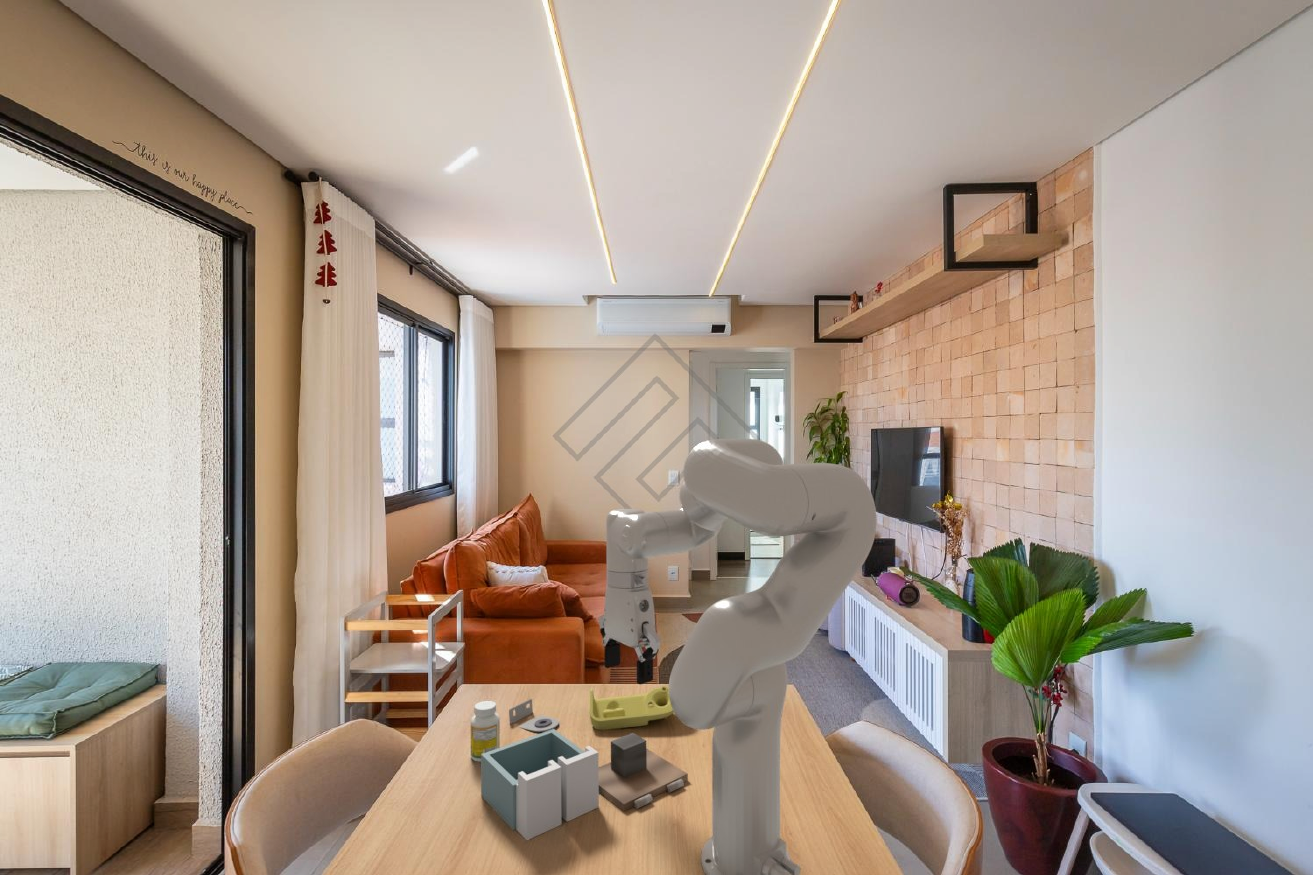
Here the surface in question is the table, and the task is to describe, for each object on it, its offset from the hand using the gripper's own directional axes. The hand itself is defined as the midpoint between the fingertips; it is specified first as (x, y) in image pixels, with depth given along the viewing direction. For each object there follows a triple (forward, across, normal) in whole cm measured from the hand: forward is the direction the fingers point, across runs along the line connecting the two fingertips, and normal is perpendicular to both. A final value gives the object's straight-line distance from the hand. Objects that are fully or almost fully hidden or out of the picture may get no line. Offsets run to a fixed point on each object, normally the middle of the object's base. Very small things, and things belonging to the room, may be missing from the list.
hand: (628, 673), depth 110 cm
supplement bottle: (+18, +23, +17) cm, 34 cm away
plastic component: (+18, +17, -14) cm, 29 cm away
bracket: (+19, +29, +3) cm, 35 cm away
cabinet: (+18, +3, +16) cm, 24 cm away
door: (+18, -2, 0) cm, 18 cm away
